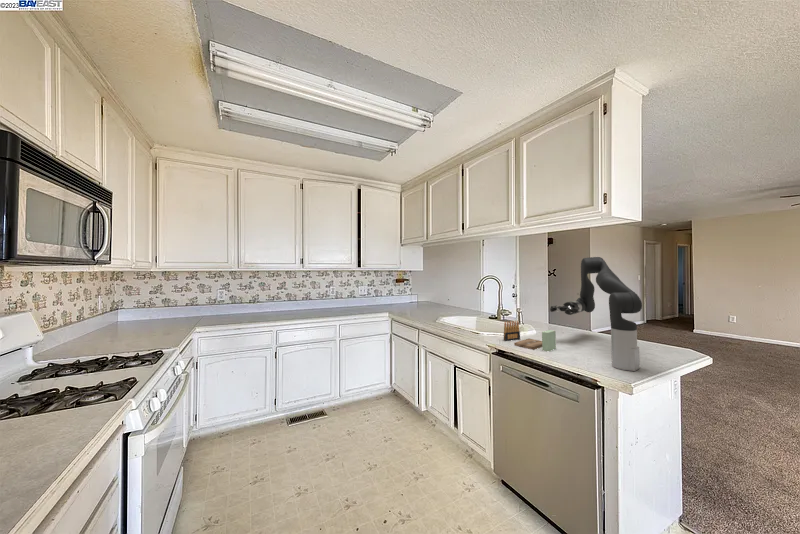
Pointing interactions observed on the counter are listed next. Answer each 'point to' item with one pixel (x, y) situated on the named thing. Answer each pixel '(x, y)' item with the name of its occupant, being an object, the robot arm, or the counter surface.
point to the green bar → (548, 340)
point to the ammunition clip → (511, 331)
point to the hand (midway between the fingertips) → (558, 310)
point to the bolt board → (529, 344)
